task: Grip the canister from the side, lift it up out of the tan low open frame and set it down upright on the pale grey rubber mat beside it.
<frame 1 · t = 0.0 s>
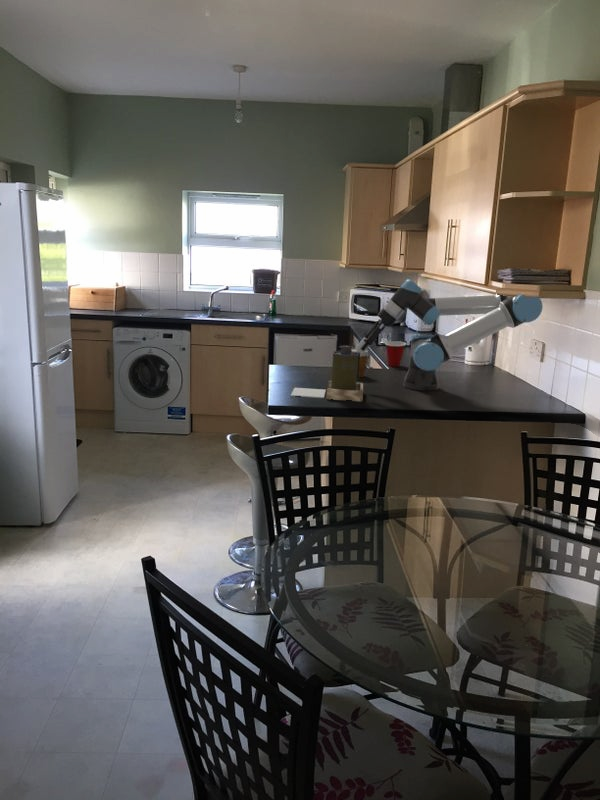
hand: (356, 353, 270), 15 cm above the table, tool tilted 35°, fingers open, 13 cm apart
plastic cup: (393, 366, 334), on the table
disposable coffee cup: (356, 376, 303), on the table
tan low open frame: (343, 395, 261), on the table
mat: (308, 393, 262), on the table
canister: (343, 396, 261), resting in tan low open frame
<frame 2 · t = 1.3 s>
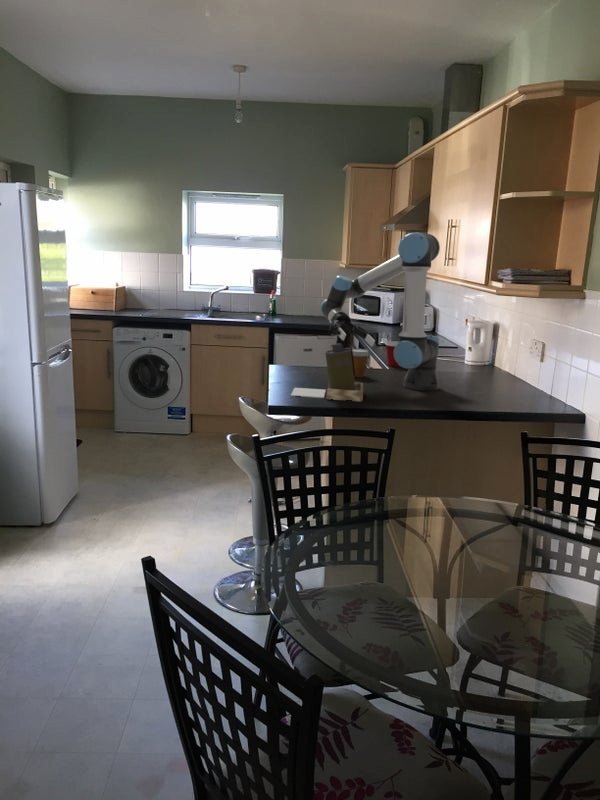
hand: (358, 340, 261), 22 cm above the table, tool tilted 75°, fingers open, 13 cm apart
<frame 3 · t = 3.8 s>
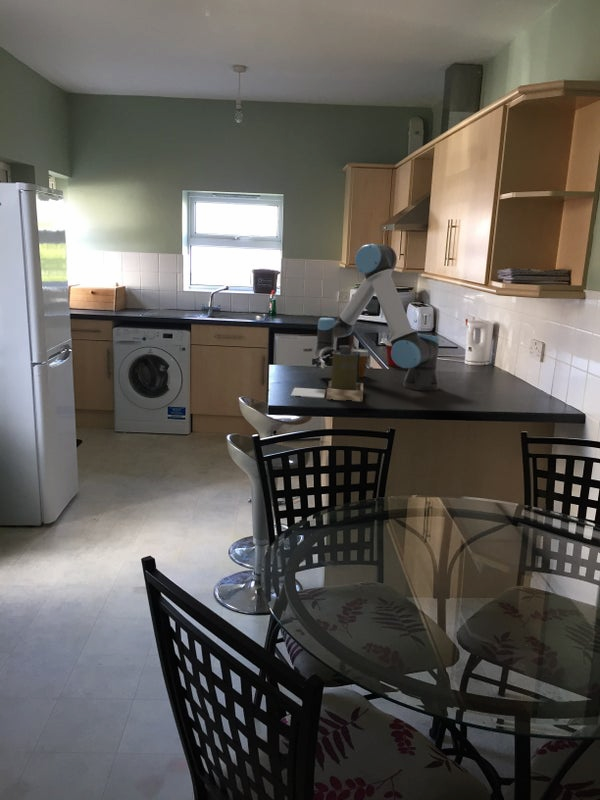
hand: (340, 365, 265), 11 cm above the table, tool horizontal, fingers open, 13 cm apart
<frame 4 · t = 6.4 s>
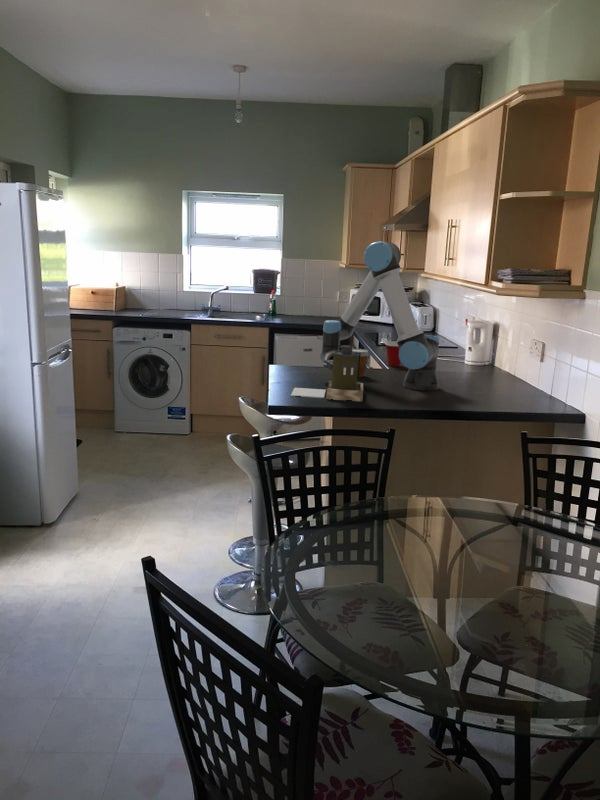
hand: (348, 371, 253), 11 cm above the table, tool horizontal, fingers closed on canister, 2 cm apart
canister: (343, 396, 261), resting in tan low open frame, touching gripper
everything else where it was.
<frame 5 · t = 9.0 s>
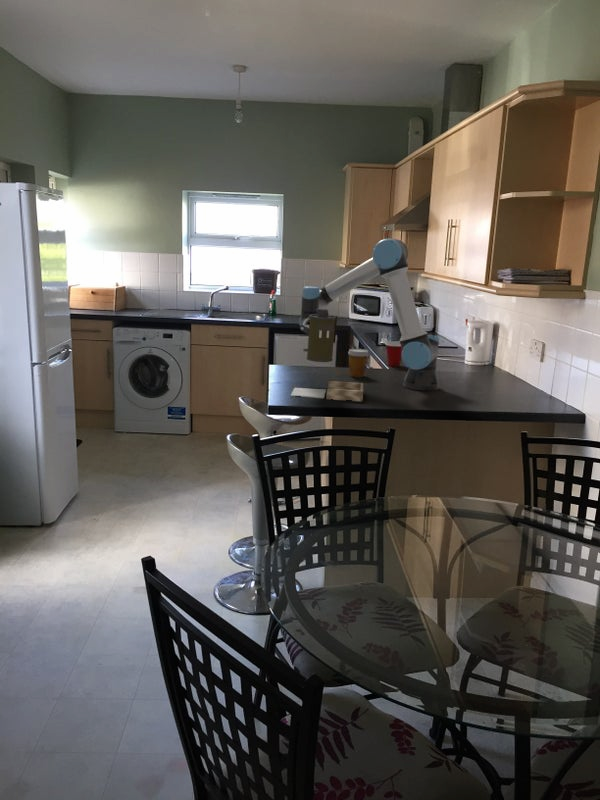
hand: (324, 334, 251), 25 cm above the table, tool horizontal, fingers closed on canister, 2 cm apart
canister: (320, 360, 259), point 14 cm above the table, touching gripper
everything else where it was.
when the fingers open (12 cm above the table, at t = 11.7 s): canister drops 1 cm, resting on mat.
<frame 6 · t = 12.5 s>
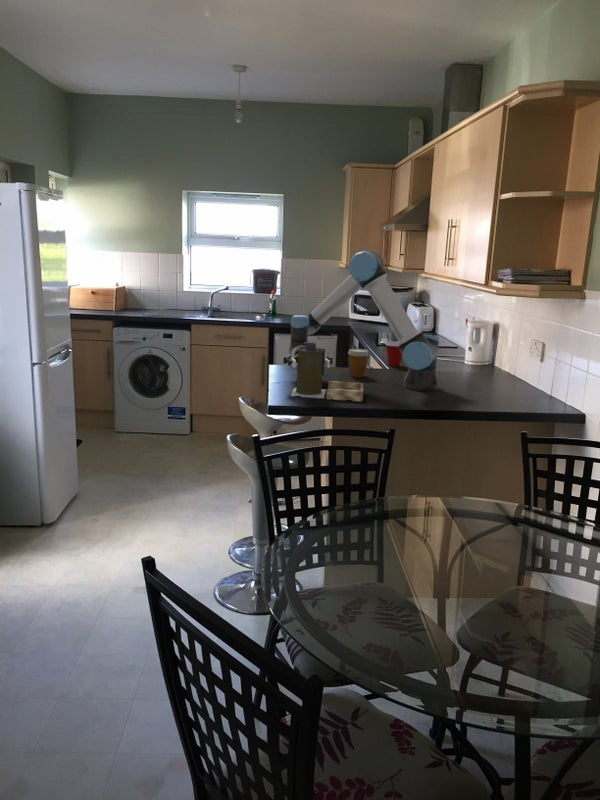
hand: (311, 364, 256), 12 cm above the table, tool horizontal, fingers open, 13 cm apart
canister: (309, 392, 262), resting on mat
everything else where it was.
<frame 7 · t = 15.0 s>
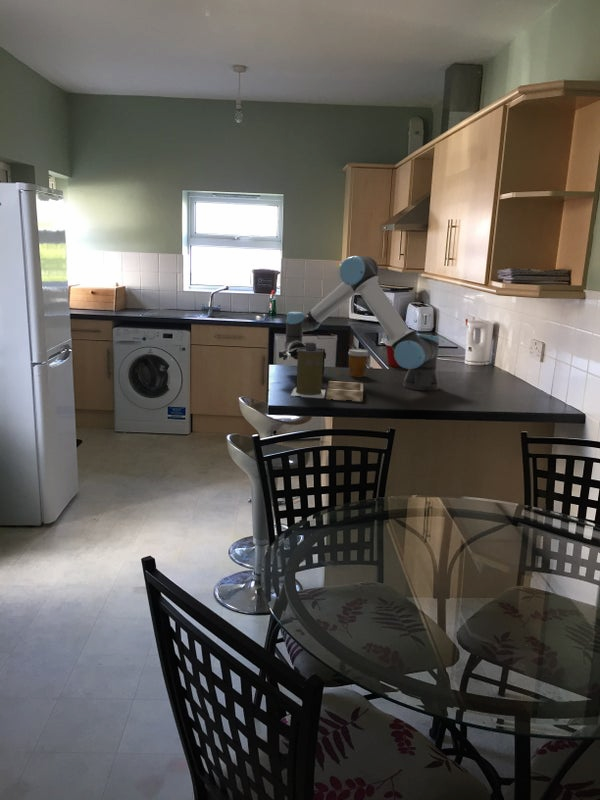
hand: (305, 358, 268), 13 cm above the table, tool horizontal, fingers open, 13 cm apart
nothing on the table moved.
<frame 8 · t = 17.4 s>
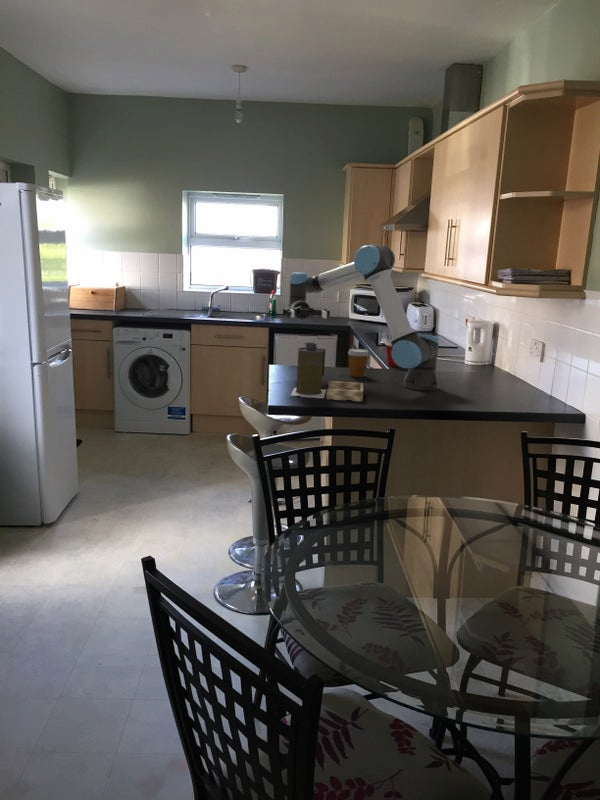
hand: (309, 314, 269), 30 cm above the table, tool horizontal, fingers open, 13 cm apart
nothing on the table moved.
at the end: canister 0.2 cm off-centre on the mat, point 0.3 cm above the mat's base; canister tilted 0°; the gripper is holding nothing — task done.
